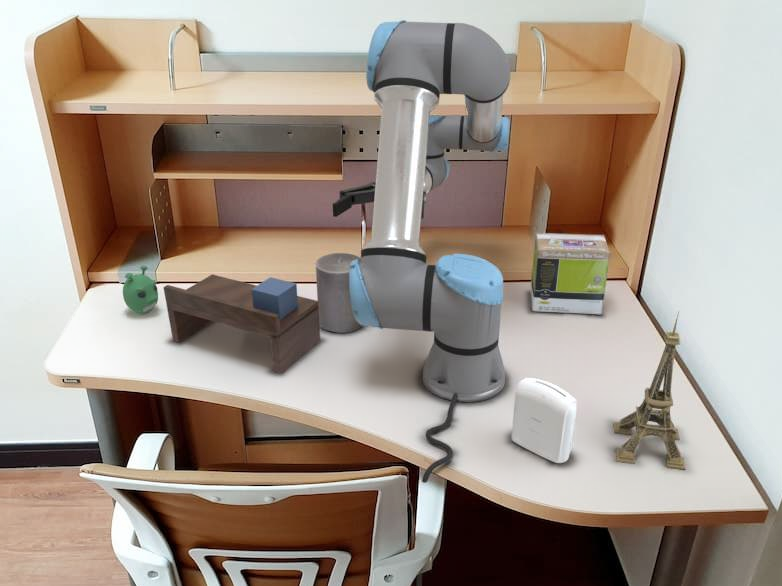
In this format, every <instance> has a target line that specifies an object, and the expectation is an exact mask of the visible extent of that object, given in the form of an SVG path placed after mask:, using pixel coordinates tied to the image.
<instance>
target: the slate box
mask: <svg viewBox="0 0 782 586" xmlns="http://www.w3.org/2000/svg"><path fill="white" fill-rule="evenodd" d="M297 285H298V284H297V283H296V282H291V281H287V280H283V279H279V278H276V277H272V276H270V277H268V278H266V279H265V280H264V281H262V282H260V283H259V284H258V285H257V284H256V287H254V288H253V289H252V298H253V308H256V309H260V310H264V311H267V312H271V313H275V314H278V315H279V319H280V320H281V319H282V318H284V317H285V316H287V315H288V314H289V313H291V312H292V311H293V310H295V309H296V308H297V307H298V298H297V296H298V286H297Z"/></svg>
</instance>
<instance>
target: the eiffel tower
mask: <svg viewBox="0 0 782 586" xmlns="http://www.w3.org/2000/svg"><path fill="white" fill-rule="evenodd" d="M679 314H680V310H678V311H677V315H676V319H675V323H674V326H673V330H672V332H671V331H666V334H665V335H663V339H664V343H665V345H664V349H663V352H662V355H661V358H660V360H659V363H658V365H657V368H656V371H655V372H654V373H655V374H654V376H653V379H652V381H651V384H650V386H649V387H646V388H645V389H644V398H643V401H642V403H641V404H640V405H639V406H635V409H636V411H633V412H632V413H630V414H628V415H626V416H624V417H623V418H621V419H620V420H619V421H613V433H614V434H622V435H630V436H631V435H632V429H633V428H635V434H633V435H632V436H631V437H630V438H629V439H628V440H627V441H626V442H625V443H623V444H622V445H621V446H620V448H618V449H615V457H616V458H615V459H616V462H617V463H625V464H633V465H634V464H635V463H636V461H635V460H636V456H635V454H636V452H637V449H638V447H639V444H640V442H641V440H642V439H643V438H645V437H648V436H649V437H650V436H656V437H658V438H660V439H661V440H662V441H663V442H664V445H665V449H666V452H667V453H666V454H665V463H666V468H668V469H676V470H684V471H685V470H686V469H687V466H686V462H685V457H684V456H683V457H682V453H681V451H680V450H679V448H678V445H677V444H676V442H675V441H680V434H679V429H678V428H676V426H675V425H674V422H673V421H672V418H671V417H672V416H671V407H674V399H673V396H672V383H673V371H674V362H675V354H676V347H677V346H680V345H681V341H680V340H681V337H680V334H679V332H676V329H677V323H678V317H679ZM662 384H663V386H662ZM661 386H662V389H661ZM648 422H650V423H651V422H652V423H656V424H649V423H648ZM657 424H658V425H657Z"/></svg>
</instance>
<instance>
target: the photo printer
mask: <svg viewBox="0 0 782 586" xmlns="http://www.w3.org/2000/svg"><path fill="white" fill-rule="evenodd" d="M514 395H515V396H514V405H513V415H512V426H511V441H512V442H514V443H515V444H517V445H519V446H521V447H522V448H524V449H526V450H528V451H530V452H532V453H534V454H536V455H538V456H540V457H542V458H544V459H546V460H548V461H550V462H553V463H556V464H563V463H566V462H567V461H568V460H569V459H570V454H571V451H572V444H573V437H574V430H575V424H576V418H577V410H578V401H577V399H576V398H574V397H573V396H572V395H571V394H570V393H569V392H567V391H566V390H564V389H563V388H561V387H560V386H558V385H556V384H553V383H551V382H549V381H546V380H543V379H539V378H535V377H524V378H523V379H522V380H519V383H518V385H517V387H516V390H515V394H514Z"/></svg>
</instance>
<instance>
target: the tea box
mask: <svg viewBox="0 0 782 586" xmlns="http://www.w3.org/2000/svg"><path fill="white" fill-rule="evenodd" d="M605 236H606V235H604V234H585V233H584V234H583V233H581V234H579V233H556V232H555V233H553V232H551V233H550V232H544V233H543V232H536V233H535V238H534V247H533V258H532V269H531V276H530V277H531V279H530V298H531V309H532V312H546V313H566V314H584V315H585V314H587V315H589V314H590V315H591V314H592V315H602V313H603V308H604V307H603V306H604V299H605V292H606V286H607V279H608V272H609V267H610V266H609V265H610V257H611V251H610V248H609V246H608V242H607V240H606V237H605Z"/></svg>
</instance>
